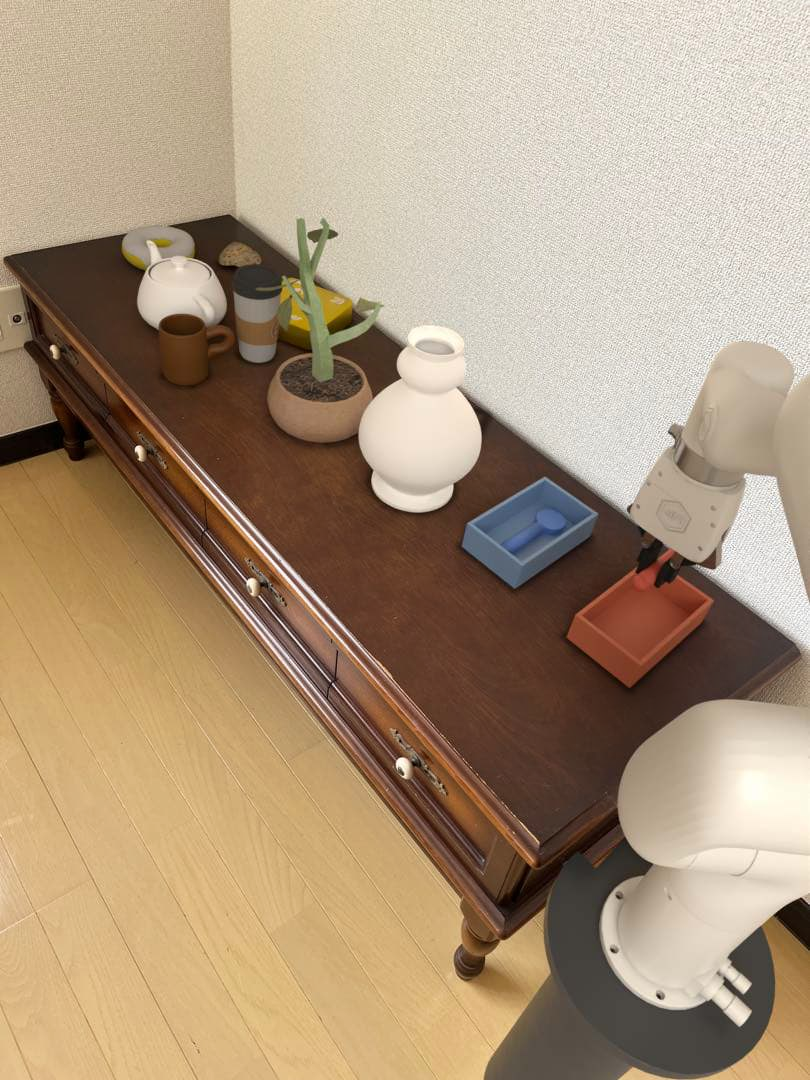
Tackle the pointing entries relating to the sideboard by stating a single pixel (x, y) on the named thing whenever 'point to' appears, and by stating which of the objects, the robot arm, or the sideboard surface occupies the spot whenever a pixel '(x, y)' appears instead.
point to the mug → (189, 347)
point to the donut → (165, 240)
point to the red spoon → (650, 573)
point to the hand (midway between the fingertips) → (653, 574)
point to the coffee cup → (256, 311)
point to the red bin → (637, 625)
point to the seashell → (239, 255)
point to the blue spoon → (537, 529)
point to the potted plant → (318, 361)
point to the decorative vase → (422, 425)
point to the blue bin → (517, 516)
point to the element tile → (333, 310)
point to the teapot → (180, 290)
